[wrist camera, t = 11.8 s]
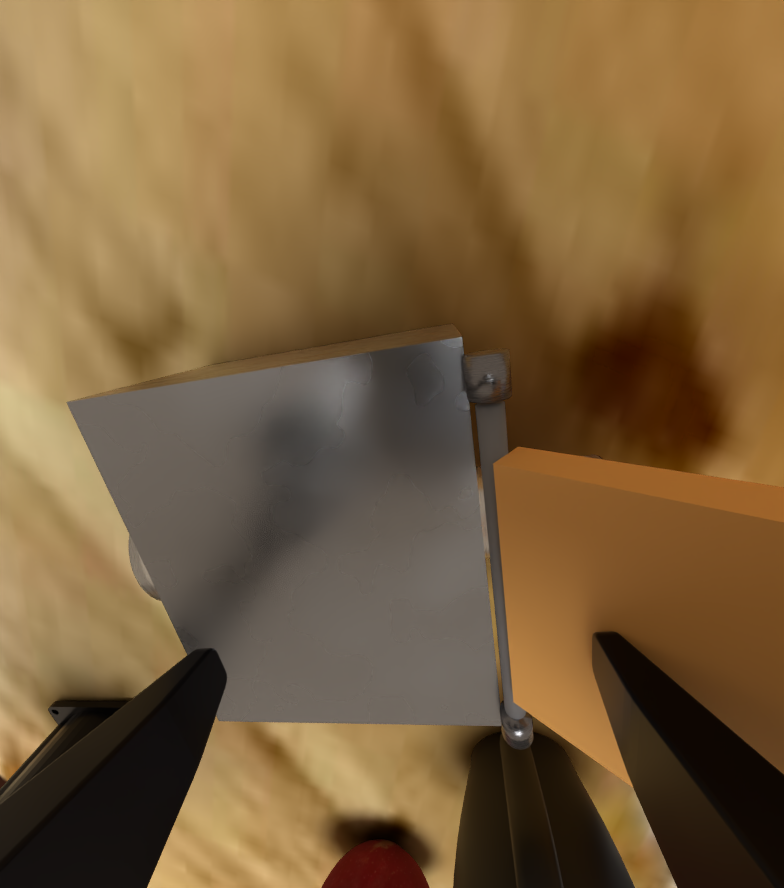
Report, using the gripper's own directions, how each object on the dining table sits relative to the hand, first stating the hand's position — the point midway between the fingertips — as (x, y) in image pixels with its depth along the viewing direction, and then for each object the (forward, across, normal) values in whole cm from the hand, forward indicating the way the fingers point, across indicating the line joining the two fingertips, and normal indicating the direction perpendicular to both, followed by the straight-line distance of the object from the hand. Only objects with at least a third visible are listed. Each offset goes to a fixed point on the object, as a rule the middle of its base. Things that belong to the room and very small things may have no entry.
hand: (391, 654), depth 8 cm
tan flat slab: (+2, -3, 0) cm, 3 cm away
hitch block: (+9, +3, 0) cm, 9 cm away
